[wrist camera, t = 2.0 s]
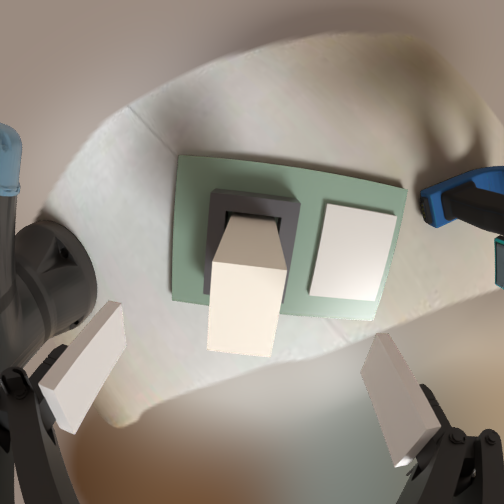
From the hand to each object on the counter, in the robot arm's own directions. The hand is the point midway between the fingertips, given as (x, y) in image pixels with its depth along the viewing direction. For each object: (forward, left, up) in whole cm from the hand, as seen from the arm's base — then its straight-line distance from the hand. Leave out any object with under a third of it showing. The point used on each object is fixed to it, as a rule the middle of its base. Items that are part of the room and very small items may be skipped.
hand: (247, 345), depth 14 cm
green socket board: (+4, 0, -18) cm, 18 cm away
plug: (0, 0, -17) cm, 17 cm away
